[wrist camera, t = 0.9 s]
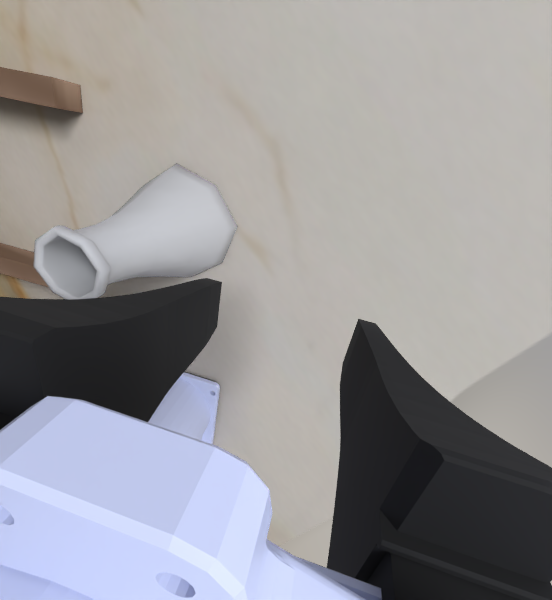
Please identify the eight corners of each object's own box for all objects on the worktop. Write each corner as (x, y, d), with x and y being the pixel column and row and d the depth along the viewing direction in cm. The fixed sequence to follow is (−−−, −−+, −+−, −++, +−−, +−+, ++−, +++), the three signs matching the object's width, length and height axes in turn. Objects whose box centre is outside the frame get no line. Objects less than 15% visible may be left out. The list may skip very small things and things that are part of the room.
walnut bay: (100, 297, 26) (81, 307, 24) (-24, 261, 27) (-51, 268, 25) (78, 65, 18) (48, 55, 17) (-89, 34, 20) (-132, 22, 18)
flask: (122, 221, 22) (-31, 261, 13) (176, 140, 19) (20, 123, 10) (195, 291, 23) (98, 372, 14) (257, 226, 20) (181, 278, 11)
